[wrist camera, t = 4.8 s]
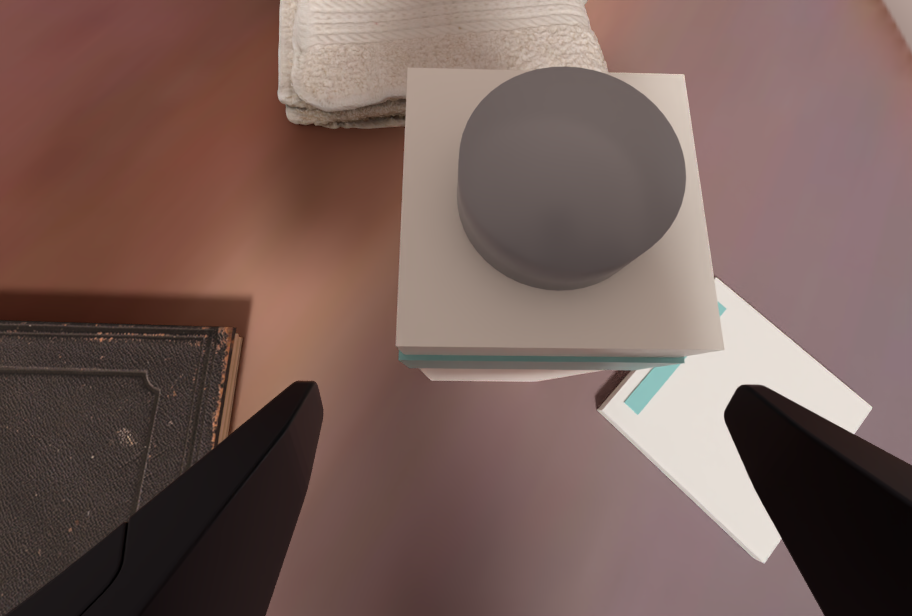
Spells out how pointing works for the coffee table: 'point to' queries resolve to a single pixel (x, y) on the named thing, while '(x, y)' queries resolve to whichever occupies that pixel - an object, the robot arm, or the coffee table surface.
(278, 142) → the coffee table surface
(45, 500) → the hardcover book
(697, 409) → the mat
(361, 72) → the washcloth
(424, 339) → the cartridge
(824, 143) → the coffee table surface
